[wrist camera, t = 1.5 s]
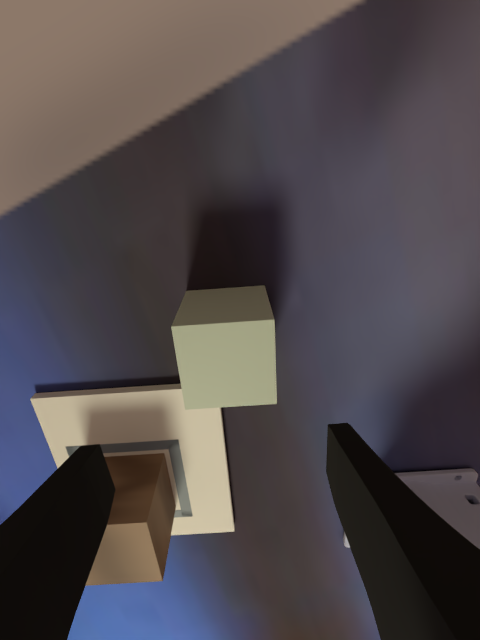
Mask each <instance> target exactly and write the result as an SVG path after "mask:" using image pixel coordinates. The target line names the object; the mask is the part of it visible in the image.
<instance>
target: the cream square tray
mask: <svg viewBox="0 0 480 640" xmlns="http://www.w3.org/2000/svg"><path fill="white" fill-rule="evenodd" d="M30 400H31V402H32V405H33V407H34V410H35V412H36V415H37V417H38V420H39V422H40V425H41V427H42V430H43V432H44V435H45V437H46V440H47V442H48V445H49V447H50V450H51V452H52V455H53V457H54V460H55V462H56V465H57V468H59V467H60V466H61V465H62V464H63V463H64V462H65V461H66V460H67V459H68V458H69V457H70V456H71V455H72V454H73V453H74V452H75V451H76V450H77V449H78V448H79V447H80V446H83V445H94V444H100V446H101V449H102V452H103V455H104V457H110V456H126V455H142V454H158V453H164V454H165V458H166V463H167V468H168V473H169V477H170V482H171V487H172V491H173V496H174V501H175V505H176V509H175V515H174V520H173V526H172V531H171V535H184V534H200V533H217V532H234V517H233V508H232V499H231V490H230V481H229V472H228V463H227V454H226V445H225V437H224V428H223V419H222V410H221V407H219V408H204V409H189V410H185V406H184V400H183V394H182V388H181V384H167V385H152V386H137V387H122V388H106V389H91V390H76V391H61V392H46V393H35V394H34V395H33V396H32V398H31V399H30Z"/></svg>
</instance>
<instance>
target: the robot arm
mask: <svg viewBox="0 0 480 640" xmlns="http://www.w3.org/2000/svg"><path fill="white" fill-rule="evenodd" d="M326 472H327V476H328V480H329V484H330V488H331V492H332V496H333V500H334V504H335V507H336V510H337V513H338V515H339V518H340V521H341V524H342V526H343V529H344V537H343V542H344V545H345V546H346V547H348V548H351V551H352V553H353V556H354V559H355V562H356V564H357V567H358V570H359V572H360V575H361V578H362V580H363V583H364V586H365V589H366V592H367V595H368V598H369V601H370V604H371V607H372V610H373V613H374V617H375V620H376V624H377V628H378V631H379V635H380V638H381V640H480V487H479V485H478V484H477V483H476V481H477V478H478V474H477V472H476V471H475V470H474V469H470V468H468V469H452V470H436V471H419V472H403V473H394V472H393V471H392V470H391V469H390V468H389V467H388V466H387V465H386V464H385V463H384V462H383V461H382V460H381V459H380V458H379V457H378V456H377V454H376V453H375V452H374V451H373V450H372V449H371V448H370V447H369V446H368V445H367V444H366V442H365V441H364V440H363V439H362V438H361V437H360V436H359V435H358V433H357V432H356V431H355V430H354V429H353V428H352V427H351V425H349V424H348V423H340V424H328V437H327V466H326ZM115 490H116V489H115V486H114V483H113V480H112V477H111V475H110V472H109V469H108V466H107V463H106V460H105V457H104V455H103V452H102V449H101V446H100V444H94V445H83V446H80V447H79V448H78V449H77V450H76V451H75V452H74V453H73V454H72V455H71V456H70V457H69V458H68V459H67V460H66V461H65V462H64V463H63V464H62V465H61V466H60V467H59V468H58V469H57V470H56V471H55V472H54V473H53V474H52V475H51V476H50V477H49V478H48V479H47V480H46V481H45V482H44V483H43V484H42V485H41V486H40V487H39V488H38V489H37V490H36V491H35V492H34V493H33V494H32V495H31V496H30V497H29V498H28V499H27V500H26V501H25V502H24V503H23V504H22V505H21V506H20V507H19V508H18V509H17V510H16V511H15V512H14V513H13V514H12V515H11V516H10V517H9V518H7V519H6V520H5V521H4V522H3V523H2V524H1V525H0V640H67V638H68V634H69V631H70V628H71V625H72V622H73V619H74V616H75V613H76V610H77V607H78V604H79V602H80V599H81V596H82V593H83V591H84V588H85V585H86V582H87V580H88V577H89V574H90V571H91V569H92V566H93V563H94V560H95V558H96V555H97V552H98V549H99V546H100V544H101V541H102V538H103V535H104V532H105V529H106V527H107V524H108V520H109V516H110V512H111V508H112V503H113V499H114V494H115Z"/></svg>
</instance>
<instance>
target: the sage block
mask: <svg viewBox="0 0 480 640" xmlns="http://www.w3.org/2000/svg"><path fill="white" fill-rule="evenodd" d="M171 328H172V334H173V340H174V346H175V352H176V358H177V364H178V370H179V376H180V382H181V388H182V394H183V400H184V406H185V410H189V409H204V408H219V407H234V406H250V405H265V404H277V394H276V358H275V322H274V316H273V313H272V309H271V306H270V302H269V299H268V295H267V292H266V289H265V285H263V286H248V287H234V288H220V289H205V290H191V291H186V293H185V295H184V298H183V300H182V302H181V305H180V307H179V310H178V312H177V314H176V317H175V319H174V321H173V324H172V326H171Z"/></svg>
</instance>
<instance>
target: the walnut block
mask: <svg viewBox="0 0 480 640" xmlns="http://www.w3.org/2000/svg"><path fill="white" fill-rule="evenodd" d="M105 460H106V463H107V466H108V469H109V472H110V475H111V477H112V480H113V483H114V486H115V489H116V490H115V494H114V499H113V503H112V508H111V512H110V516H109V520H108V524H107V527H106V529H105V532H104V535H103V538H102V541H101V544H100V546H99V549H98V552H97V555H96V558H95V560H94V563H93V566H92V569H91V571H90V574H89V577H88V580H87V582H86V585H103V584H120V583H137V582H155V581H163V576H164V571H165V565H166V559H167V554H168V548H169V543H170V537H171V531H172V526H173V520H174V515H175V509H176V505H175V501H174V496H173V491H172V487H171V482H170V477H169V473H168V468H167V463H166V458H165V454H164V453H158V454H142V455H126V456H110V457H105ZM86 585H85V586H86Z"/></svg>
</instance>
